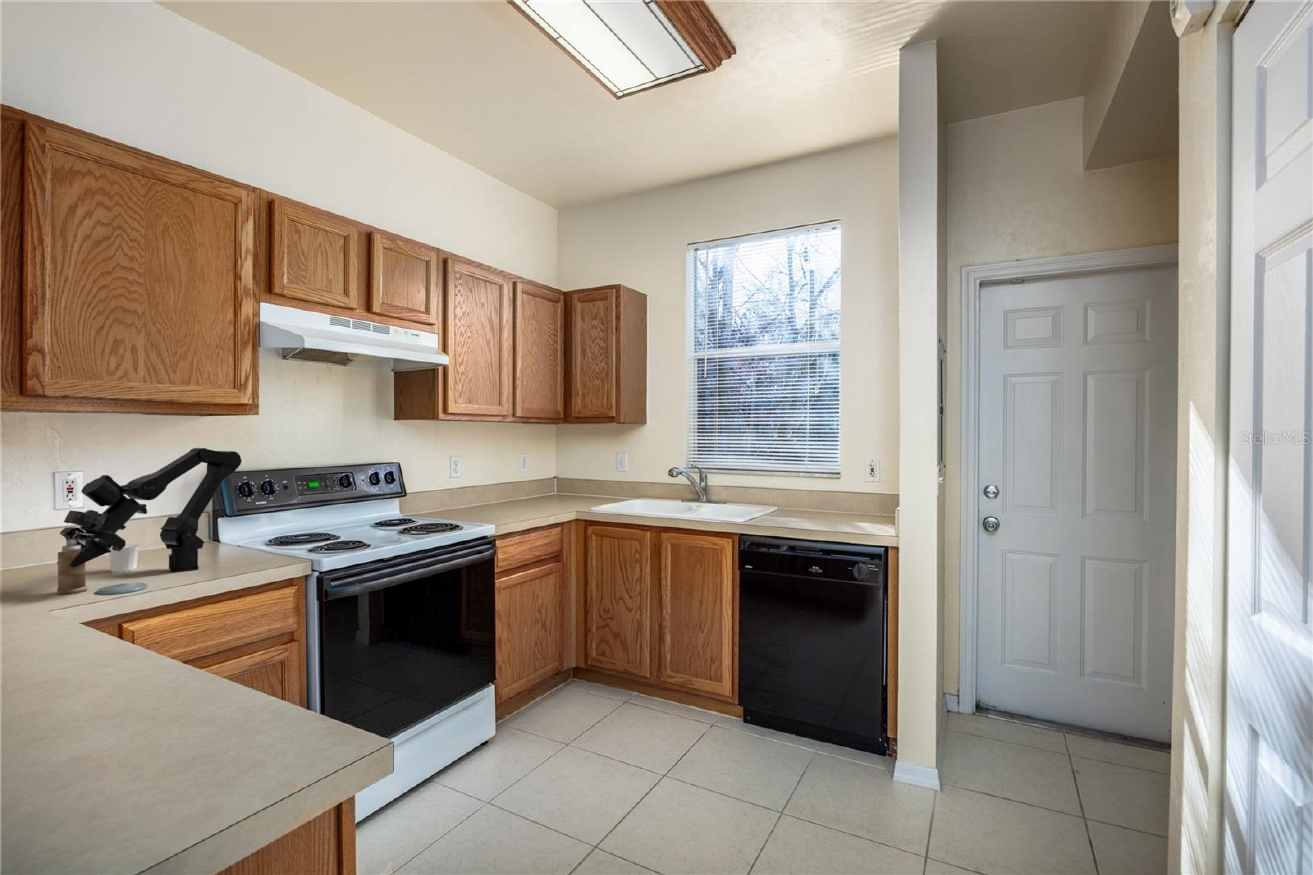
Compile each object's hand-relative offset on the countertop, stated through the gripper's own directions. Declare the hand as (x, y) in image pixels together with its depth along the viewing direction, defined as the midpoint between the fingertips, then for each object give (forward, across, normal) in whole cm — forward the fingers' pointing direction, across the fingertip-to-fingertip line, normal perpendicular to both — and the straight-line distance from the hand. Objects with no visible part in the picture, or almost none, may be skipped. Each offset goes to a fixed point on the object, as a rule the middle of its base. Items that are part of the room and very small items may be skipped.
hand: (65, 565), depth 158 cm
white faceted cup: (-10, -16, +21) cm, 28 cm away
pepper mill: (+4, 0, +6) cm, 7 cm away
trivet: (0, +9, +10) cm, 14 cm away
